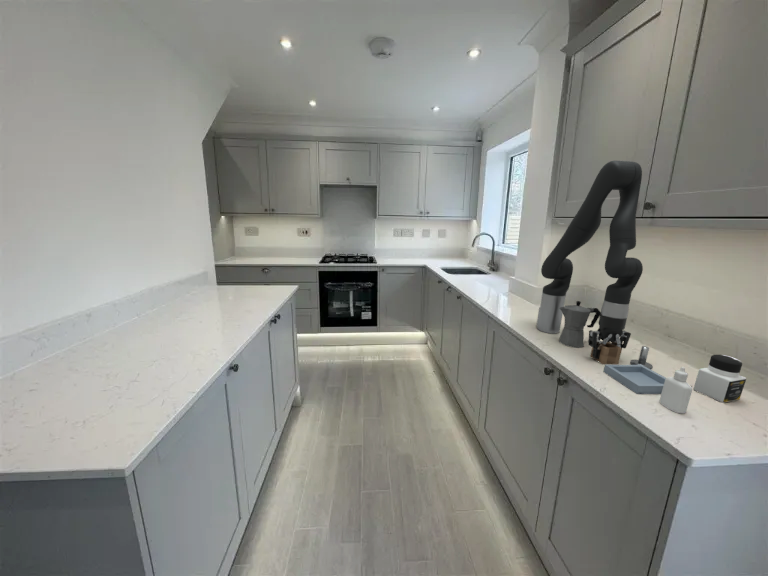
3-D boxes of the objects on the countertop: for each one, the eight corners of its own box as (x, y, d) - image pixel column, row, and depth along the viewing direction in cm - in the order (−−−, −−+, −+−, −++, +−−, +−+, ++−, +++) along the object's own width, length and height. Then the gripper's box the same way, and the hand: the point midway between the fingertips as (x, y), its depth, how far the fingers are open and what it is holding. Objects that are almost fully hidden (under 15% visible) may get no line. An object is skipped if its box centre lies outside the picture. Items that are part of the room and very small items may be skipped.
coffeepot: (558, 346, 120) (566, 303, 116) (549, 337, 130) (556, 297, 125) (600, 349, 118) (609, 306, 114) (588, 340, 127) (596, 299, 123)
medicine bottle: (723, 403, 85) (736, 364, 82) (692, 389, 91) (703, 353, 89) (739, 400, 87) (752, 361, 84) (708, 386, 93) (719, 351, 91)
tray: (603, 371, 101) (604, 364, 100) (640, 371, 101) (641, 364, 101) (637, 394, 88) (639, 386, 88) (678, 393, 89) (681, 385, 88)
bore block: (590, 356, 112) (593, 341, 111) (605, 356, 112) (608, 341, 111) (602, 364, 106) (605, 348, 105) (618, 364, 107) (622, 348, 105)
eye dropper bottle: (677, 404, 84) (688, 364, 81) (687, 415, 79) (699, 374, 76) (657, 400, 85) (667, 361, 83) (666, 411, 80) (677, 370, 78)
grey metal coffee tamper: (625, 361, 109) (630, 343, 107) (641, 361, 109) (645, 343, 108) (640, 369, 103) (645, 350, 101) (657, 369, 103) (661, 350, 102)
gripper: (624, 311, 109) (615, 353, 113) (586, 310, 109) (578, 353, 112) (642, 317, 102) (632, 363, 106) (602, 317, 101) (592, 363, 105)
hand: (604, 358), depth 109 cm, fingers closed on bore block, 6 cm apart
